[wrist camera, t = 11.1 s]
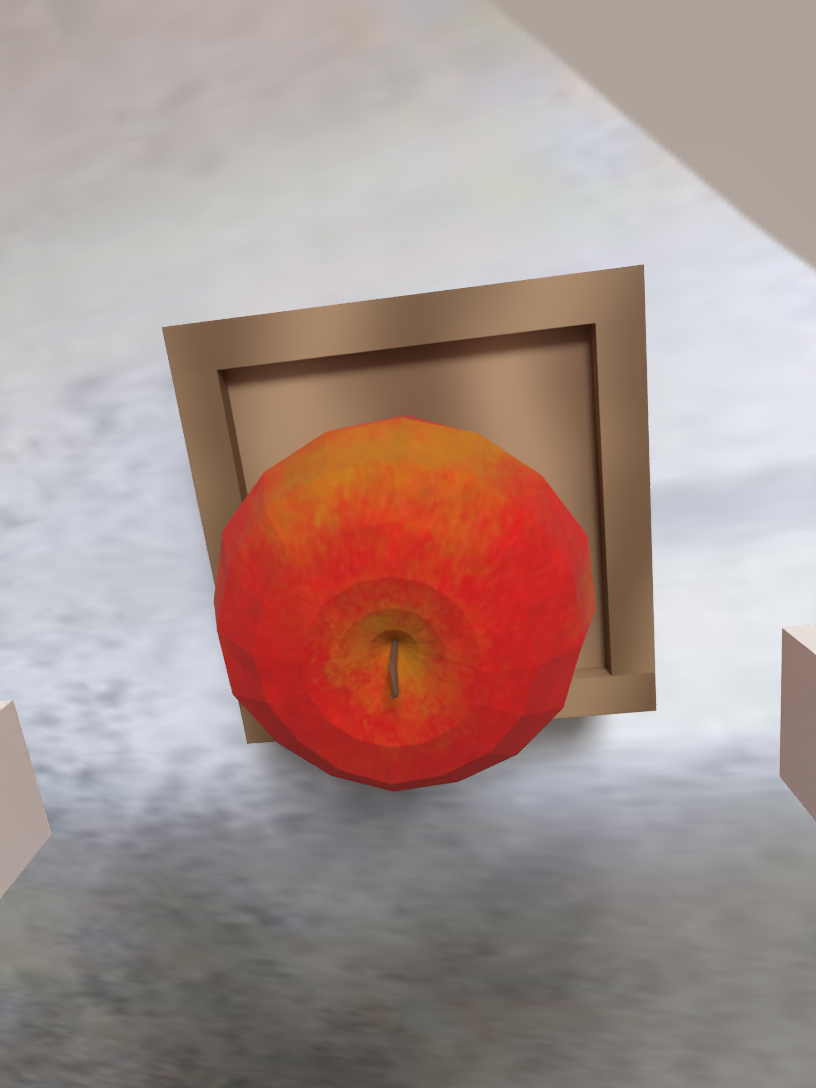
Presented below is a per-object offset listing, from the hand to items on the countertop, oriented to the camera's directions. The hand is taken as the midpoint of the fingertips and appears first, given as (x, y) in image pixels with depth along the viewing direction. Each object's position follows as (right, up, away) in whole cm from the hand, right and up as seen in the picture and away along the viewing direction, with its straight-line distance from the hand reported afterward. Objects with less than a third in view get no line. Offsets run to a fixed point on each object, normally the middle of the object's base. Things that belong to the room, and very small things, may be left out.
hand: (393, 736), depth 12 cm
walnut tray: (+1, +6, +18) cm, 19 cm away
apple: (0, +4, +13) cm, 13 cm away
